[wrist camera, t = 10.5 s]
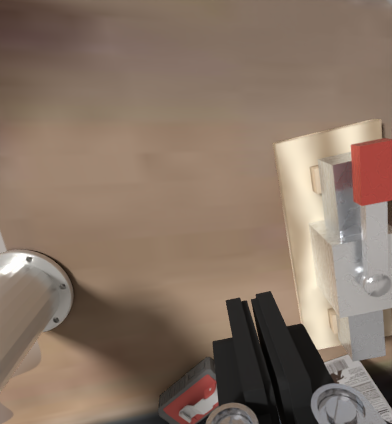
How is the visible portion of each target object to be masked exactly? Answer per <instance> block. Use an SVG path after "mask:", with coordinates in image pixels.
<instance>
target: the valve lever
mask: <svg viewBox="0 0 392 424" xmlns="http://www.w3.org/2000/svg"><path fill="white" fill-rule="evenodd" d="M351 160H352V182H353V201H354V202H356V203H357V204H359V205H360V210H361V235H362V261H363V272H362V273H361V275H360V276H359V285H360V286H361V287H362V288H363V289H364V290H365V291H366V292H367V293H368V294H369V295H370V296H372V297H380V296H383V295H385V294H386V293H387V292H388V291H389V290H390V288H391V280H390V278H389V277H388V210H387V201H391V200H392V139H387V138H382V139H377V140H372V141H367V142H362V143H356V144H351Z"/></svg>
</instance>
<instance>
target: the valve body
mask: <svg viewBox="0 0 392 424" xmlns="http://www.w3.org/2000/svg"><path fill="white" fill-rule="evenodd" d="M318 167H319V176H320V184H321V193H322V201H323V210H324V218H325V220H321V221H316V222H312V223H308V224H309V231H310V239H311V246H312V254H313V261H314V268H315V276H316V283H317V286H318V288H319V289H320V291H321V292H322V293H323V295H324V296H325V298H326V299H327V300H328V302H329V303H330V305H331V306H332V308H333V309H334V310H335V312H336V321H337V329H338V338H339V341H340V342H341V344H342V345H343V347H344V348H345V350H346V352H347V353H348V355H349V356H350V358H351V360H352V361H353V362H354V361H359V360H364V359H370V358H375V357H380V356H386V353H385V338H384V322H383V310H384V309H389V308H392V226H390V225H389V224H388V277H389V278H390V280H391V288H390V290H389V291H388V292H387V293H386V294H385V295H383V296H380V297H372V296H370V295H369V294H368V293H367V292H366V291H365V290H364V289H363V288H362V287H361V286H360V285H359V276H360V275H361V273H362V272H363V261H362V235H361V210H360V205H359V204H357V203H356V202H354V201H353V182H352V160H351V152H347V153H343V154H339V155H335V156H330V157H326V158H322V159H318Z"/></svg>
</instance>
